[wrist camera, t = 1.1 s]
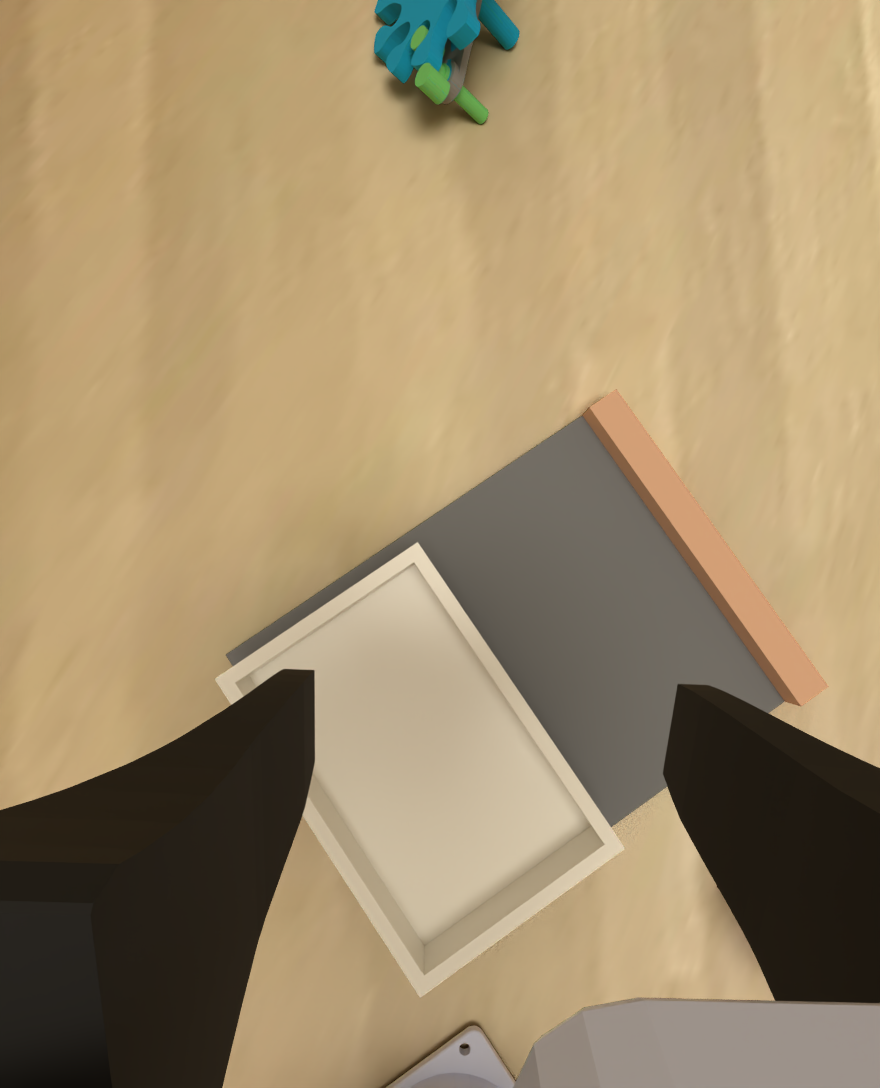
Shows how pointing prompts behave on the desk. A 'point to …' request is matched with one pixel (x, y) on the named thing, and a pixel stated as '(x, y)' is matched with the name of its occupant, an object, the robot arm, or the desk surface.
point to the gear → (439, 44)
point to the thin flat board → (600, 599)
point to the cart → (430, 771)
